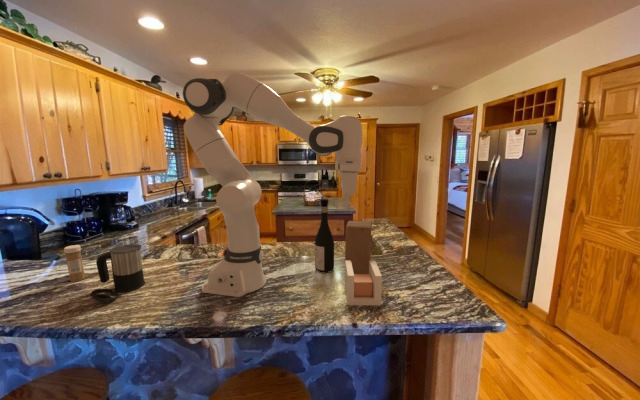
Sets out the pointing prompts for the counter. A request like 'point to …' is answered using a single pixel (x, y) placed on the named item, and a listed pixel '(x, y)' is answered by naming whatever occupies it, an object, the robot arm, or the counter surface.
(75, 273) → the pill bottle
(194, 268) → the counter surface
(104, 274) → the milk frother
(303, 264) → the counter surface
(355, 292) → the block
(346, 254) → the wooden block
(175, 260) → the counter surface
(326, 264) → the wine bottle
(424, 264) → the counter surface
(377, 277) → the chute
